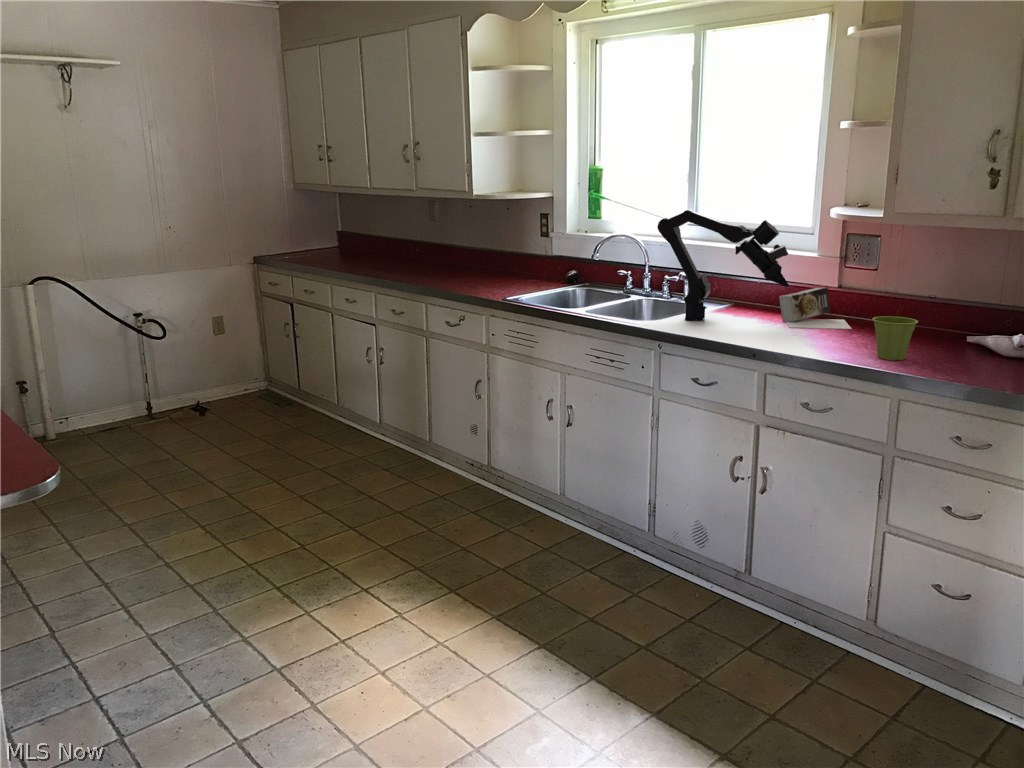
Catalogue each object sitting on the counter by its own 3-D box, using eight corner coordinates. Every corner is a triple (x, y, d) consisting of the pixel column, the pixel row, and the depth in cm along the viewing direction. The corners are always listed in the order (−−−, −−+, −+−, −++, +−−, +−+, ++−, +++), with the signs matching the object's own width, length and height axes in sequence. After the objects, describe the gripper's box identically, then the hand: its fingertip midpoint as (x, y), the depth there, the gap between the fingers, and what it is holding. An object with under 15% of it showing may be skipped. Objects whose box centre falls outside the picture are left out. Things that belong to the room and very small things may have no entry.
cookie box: (789, 296, 283) (827, 286, 288) (778, 296, 289) (815, 287, 294) (793, 321, 285) (831, 312, 289) (782, 321, 291) (819, 312, 295)
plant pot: (917, 363, 227) (922, 324, 224) (871, 362, 230) (875, 322, 227) (909, 354, 238) (914, 316, 235) (866, 352, 241) (869, 315, 238)
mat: (789, 328, 278) (789, 327, 278) (784, 319, 294) (785, 318, 293) (851, 329, 274) (851, 328, 274) (843, 320, 289) (843, 319, 289)
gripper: (776, 239, 271) (809, 273, 271) (772, 235, 288) (803, 266, 289) (750, 263, 275) (783, 296, 275) (748, 257, 292) (778, 288, 292)
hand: (787, 286), depth 283 cm, fingers closed
